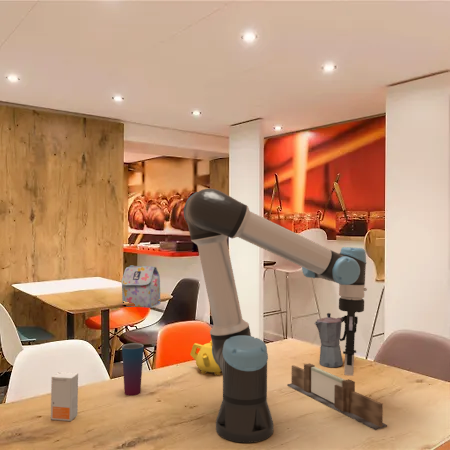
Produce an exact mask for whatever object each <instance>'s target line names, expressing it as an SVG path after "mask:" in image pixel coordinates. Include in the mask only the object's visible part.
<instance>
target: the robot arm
mask: <svg viewBox="0 0 450 450" xmlns="http://www.w3.org/2000/svg"><path fill="white" fill-rule="evenodd" d="M183 217H184V220H185V221H186V224H187V226H188V233H189V237H190V240H191V242H192V243H194V244H195V245H196V246H197V249H198V250H197V251H198V254H199V260H200V265H201V269H202V274H203V279H204V284H205V288H206V293H207V298H208V302H209V308H210V313H211V318H212V322H213V324H212V325H213V326H212V327H211V329H210V330H209V334H210V335H209V336H210V339H211V340H210V341H212V354H213V358H214V360H215V362H216V363H217V365H218V366H219V367H220V369H221V373H222V401H221V404H220V407H219V410H218V414H217V416H216V420H215V432H216V433H217V435H218V436H220V437H221V438H223V439H224V440H228V441H231V442H236V443H243V444H244V443H256V442H261V441H264V440H267V439H268V438H269V437H270V438H271V436H272V435H273V434H274V419H273V417H272V412H271V410H270V407H269V404H268V400H267V399H268V360H269V354H268V347H267V345H266V343H265V342H264V340H262V339H260V338H259V337H255V336H252V332H251V329H250V323H248V321H246V320H244V319H243V315H242V311H241V305H240V300H239V295H238V289H237V286H236V280H235V276H234V275H235V274H234V271H233V270H234V269H233V265H232V261H231V255H230V251H229V246H228V241H227V240H228V238H230V239H235V238H239V239H241V240H243V241H246V242H248V243H250V244H252V245H254V246H255V247H256V246H257V247H259V248H260V249H263V250H265V251H267V252H270V253H272V254H274V255H276V256H278V257H280V258H282V259H285V260H286V261H289V262H291V263H294V264H295V265H298V266H300V267H301V271H302V273H303V276H304V277H306V278H311V279H322V280H326V281H331V282H334V283H337V284H339V287H338V296H339V298H338V309H339V310H340V311H341V312H346V314H347V315H344V316H343V317H344V321H343V322H344V331H345V332H346V337H345V345H344V347H345V349H344V350H343V351H342V354H343V355H344V368H343V369H344V372H343V374H344V376H350V377H353V376H354V370H355V368H354V367H355V354H356V353H357V350H356V349H355V337H356V336H355V335H356V333H357V324H358V320H359V319H358V318H359V317H358V316H357V315H356V313H362V312H364V311H365V299H363V298H365V292H366V291H367V290H368V288H367V287H366V267H367V266H366V265H367V254H366V250H365V248H362V247H345V246H344V247H341V249H340V252H336V251H334V250H331V249H329V248H327V247H326V246H324V245H321V244H319V243H317V242H315V241H314V240H313V241H312V240H311V239H309V238H307V237H304V236H303V235H300V234H298V233H296V232H295V231H292V230H290V229H288V228H286V227H284V226H281V225H280V224H278V223H275V222H273V221H271V220H269V219H267V218H265V217H263V216H261V215H258V214H256V213H255V212H252V211H250V208H249V206H248V204H244V203H243V202H241V201H239V200H237V199H236V198H234V197H232V196H230V195H228V194H227V193H225V192H224V191H223V192H222V190H219V189H216V188H204V189H201V190H199V191H196V192H195V193H193V194H192V195H190V196H189V197H188V199H187V200H186V202H185V204H184V208H183Z"/></svg>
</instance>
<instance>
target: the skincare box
mask: <svg viewBox="0 0 450 450" xmlns="http://www.w3.org/2000/svg"><path fill="white" fill-rule="evenodd" d="M50 389H51V390H50V393H51V394H50V396H51V397H50V420H54V421H65V422H72V421H73V420H74V419H75V418H77V416H78V411H79V409H78V408H79V407H78V402H79V400H78V399H79V395H78V394H79V373H76V372H75V373H74V372H62V371H61V372H57V373H55V374H54V375H52V376H51V388H50Z"/></svg>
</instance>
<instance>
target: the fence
mask: <svg viewBox="0 0 450 450" xmlns="http://www.w3.org/2000/svg"><path fill="white" fill-rule="evenodd" d="M311 367H316V365H315V364H313V363H304V364H303V368H301V367H299V366H297V365H294V364H293V365H291V383H287V386H288V387H289V388H290V389H291V388H292V389H293V390H295V391H297V392H299V393H301V394H303V395H305V396H307V397H309V398H311V399H313V400H315V401H317V402H319V403H321V404H322V405H325V406H327V407H329V408H331V409H333V410H335V411H337V412H339V413H341V414H343V415H344V416H347V417H349V418H350V419H353V420H355V421H356V422H358V423H361V424H362V425H364V426H366V427H368V428H370V429H372V430H375V431H378V430H381V429H384V428H387V427H388V424H386V423H384V422H383V418H384V417H383V416H384V414H383V413H384V411H383V409H384V408H383V407H384V404H383V403H382V402H380V401H378V400H376V399H373V398H370V397H368V396H367V395H363V394H361V393H359V392H357V391H355V390H356V389H355V388H356V381H354V380H352V379H348V378H347V379H345V380H343V387H341V386H339V385H335V393H334V403H332V402H330V401H328V400H327V399H325V398H323V397H321V396H319V395H317V394H315V393H313V392H311Z"/></svg>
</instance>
